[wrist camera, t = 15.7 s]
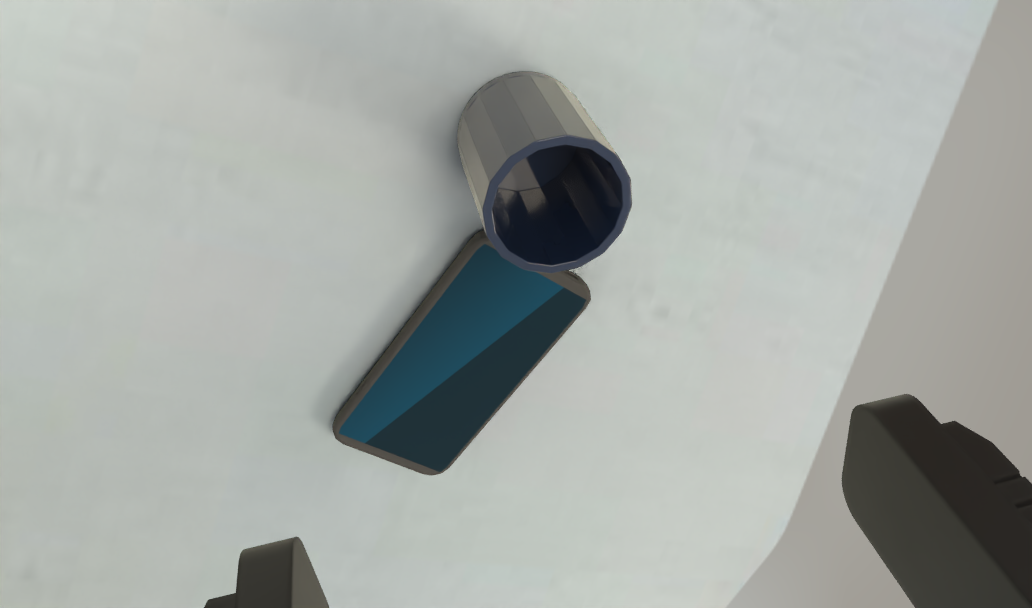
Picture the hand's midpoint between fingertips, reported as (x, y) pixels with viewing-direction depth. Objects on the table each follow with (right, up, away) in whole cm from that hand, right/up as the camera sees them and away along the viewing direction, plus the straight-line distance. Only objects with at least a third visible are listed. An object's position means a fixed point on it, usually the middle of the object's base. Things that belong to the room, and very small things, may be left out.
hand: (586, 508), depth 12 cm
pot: (-1, +11, +27) cm, 29 cm away
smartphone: (-4, 0, +34) cm, 34 cm away
